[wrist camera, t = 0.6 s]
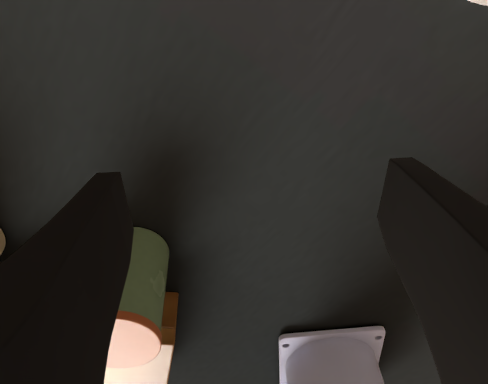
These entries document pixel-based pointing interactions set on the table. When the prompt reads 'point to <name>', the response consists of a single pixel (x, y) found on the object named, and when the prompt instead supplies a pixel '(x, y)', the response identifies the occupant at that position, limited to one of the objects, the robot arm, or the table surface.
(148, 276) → the sage tin
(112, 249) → the robot arm
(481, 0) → the panda figurine
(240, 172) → the table surface
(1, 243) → the cream tin
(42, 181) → the table surface
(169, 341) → the shelf
